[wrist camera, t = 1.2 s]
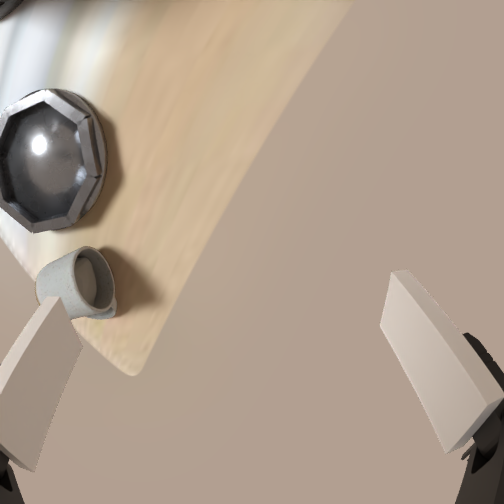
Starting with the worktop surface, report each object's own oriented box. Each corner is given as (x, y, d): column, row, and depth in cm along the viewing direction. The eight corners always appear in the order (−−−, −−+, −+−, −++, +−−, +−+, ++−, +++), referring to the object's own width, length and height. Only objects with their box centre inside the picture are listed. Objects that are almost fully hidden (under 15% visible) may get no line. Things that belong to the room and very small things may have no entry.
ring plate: (-15, 182, 27) (-26, 188, 25) (33, 66, 22) (21, 65, 20) (71, 251, 33) (62, 261, 31) (135, 135, 28) (128, 138, 26)
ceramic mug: (48, 257, 33) (19, 290, 26) (92, 234, 32) (64, 268, 25) (90, 318, 38) (72, 357, 31) (135, 303, 37) (120, 344, 30)
